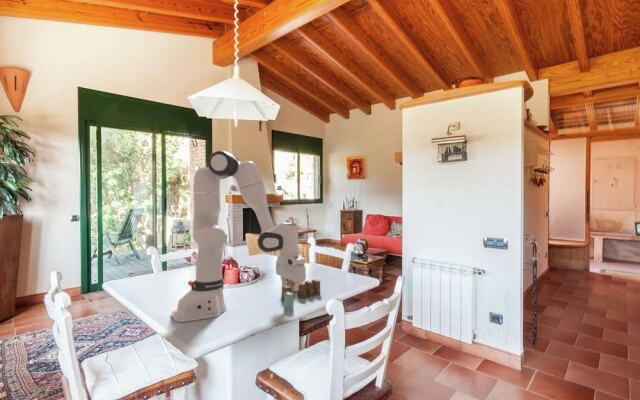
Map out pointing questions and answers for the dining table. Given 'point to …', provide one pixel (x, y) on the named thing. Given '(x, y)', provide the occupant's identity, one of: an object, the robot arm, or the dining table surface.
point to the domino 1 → (285, 289)
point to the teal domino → (288, 301)
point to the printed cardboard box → (291, 285)
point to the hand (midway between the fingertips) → (290, 287)
